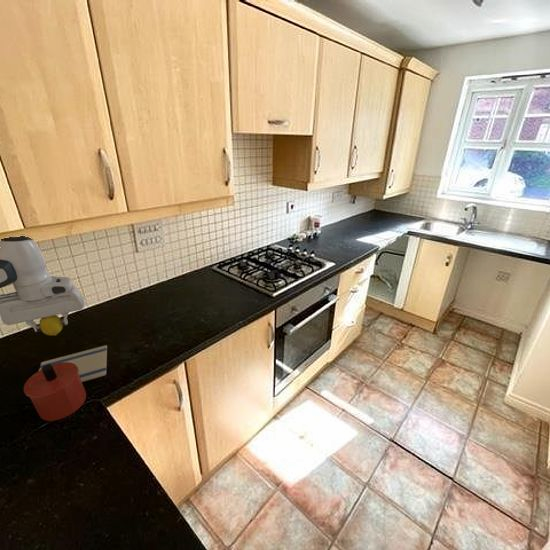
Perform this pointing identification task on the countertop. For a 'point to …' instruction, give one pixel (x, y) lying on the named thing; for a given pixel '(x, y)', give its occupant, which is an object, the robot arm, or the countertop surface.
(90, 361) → the towel
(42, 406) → the pot
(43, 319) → the lemon
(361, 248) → the countertop surface
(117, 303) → the countertop surface
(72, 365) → the pot lid
